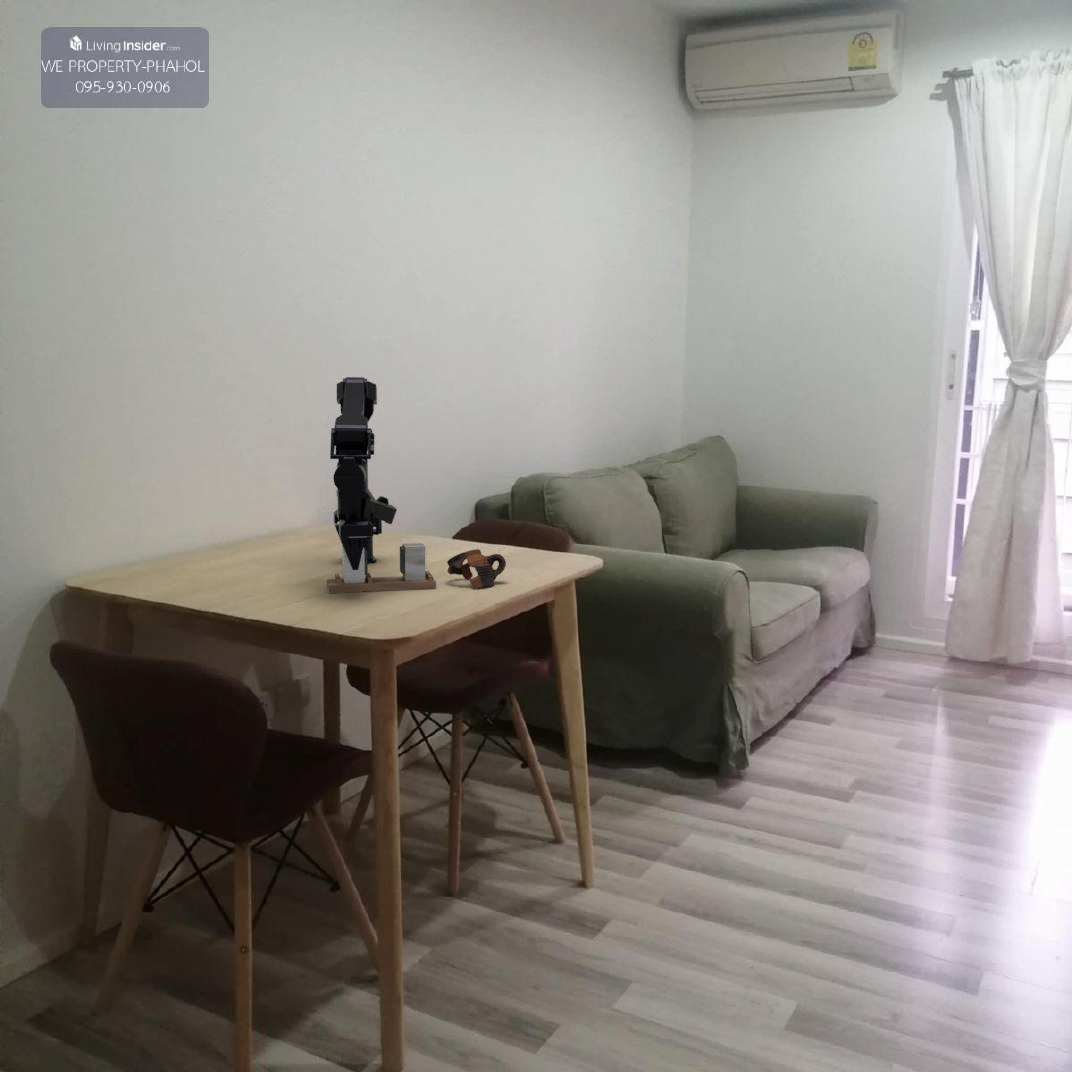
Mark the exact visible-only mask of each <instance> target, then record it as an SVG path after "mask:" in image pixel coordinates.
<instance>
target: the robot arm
mask: <svg viewBox="0 0 1072 1072" xmlns="http://www.w3.org/2000/svg"><path fill="white" fill-rule="evenodd" d="M336 403H337V405H340V414H341V415H339V416H337V417H336V418H335V421H334V427H332V428H331V430H330V454H329V455H330V457H329V459H330V460H338V462H337V463H336V469H335V471H334V474H333V483H334V486H335V487H336V488H337V489H336V497H337V509H335V511H333V524H334V527H335V529H336V530H335V531H336V532H337V535H338V537H339V540H340V543H341V546H342V545H343V547H344V549H345V552H346V554H347V557H348V559H349V562H350V564H351V567H352V569H353V570H358V569H359V564H360V560H361V555H362V551H363V546H364V547H366V549H367V563H376V562H377V558H376V556H374V535H376V536H378V535H380V534H381V535H382V533H383V529H382V527H383V526H382V525H383V524H382V522H384V523H385V524H388V525H392V524H393V522H394V519H395V517H396V514H397V511H398V509H397V508H396V507H395V506H394V505H392V504H390V503H389V499H388V497H385V496H382V495H380V496H378V497H377V499H375V497H374V496H373V493H372V492H371V490H370V489H369V469H368V468H369V467H368V466H369V465H368V462H369V461H368V460H371V459H372V456H374V455H375V434H374V432H373V429H372V428H371V427H369V421H370V419H371V418H372V416H373V414H374V413H375V412H374V411H375V405H378V388H377V383H374V382H371V381H368V378H365V377H363V376H361V377H359V376H358V377H357V376H356V377H355V376H354V377H353V376H352V377H351V376H350V377H349V376H346V377H344V378H342V381H340V382H338V383H336Z"/></svg>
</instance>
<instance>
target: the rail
mask: <svg viewBox="0 0 1072 1072" xmlns="http://www.w3.org/2000/svg"><path fill="white" fill-rule="evenodd" d="M401 543H402V542H401ZM399 571H400V573H401V574H402V575H401V576H400V575H399V576H397V575H396V576H379V577H378V576H377V577H372V575H371V574H370V572H368V575H365V583H355V584H344V582H343V578H341V575H340V573H334V578H328V579H326V587H327V591H328V593H329V594H341V593H342V594H343V593H362V591H371V592H390V591H392V590H395V591H409V590H408V589H419V590H435V589H434V588H436V589H437V581H436V580H435V577H434V576H433V574H432V573H431V572H430V571H429V570H426V545H425V544H424V543H423V542H406V543H402V544H401V545H400V546H399ZM388 590H389V591H388Z"/></svg>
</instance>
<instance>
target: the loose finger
mask: <svg viewBox="0 0 1072 1072" xmlns="http://www.w3.org/2000/svg"><path fill="white" fill-rule="evenodd" d="M341 547H342V548H341V549H342V551H341V552H342V553H341V554H342V555H341V556H342V557H341V558H342V561H341V563H342V579H343V582H344V584H355V583H365V575H368V573H369V571H368V568H369V567H368V562H367V549H366V547H364V546H363V551H362V555H361V560H360V564H359V569H358V570H353V569H352V567H351V564H350V562H349V559H348V557H347V554H346V552H345V549H344V547H343V545H342V544H341Z"/></svg>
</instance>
